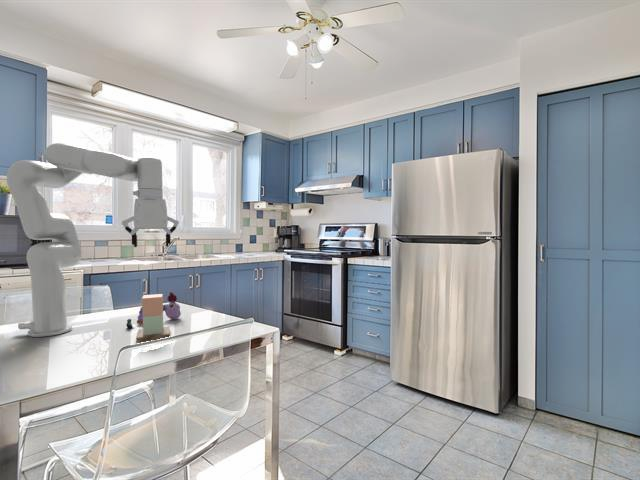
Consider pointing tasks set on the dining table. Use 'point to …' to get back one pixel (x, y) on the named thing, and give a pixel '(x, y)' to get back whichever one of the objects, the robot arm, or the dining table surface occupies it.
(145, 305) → the terracotta cube
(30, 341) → the dining table surface
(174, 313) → the toy
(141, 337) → the board
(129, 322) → the sculpture
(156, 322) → the sage cube
